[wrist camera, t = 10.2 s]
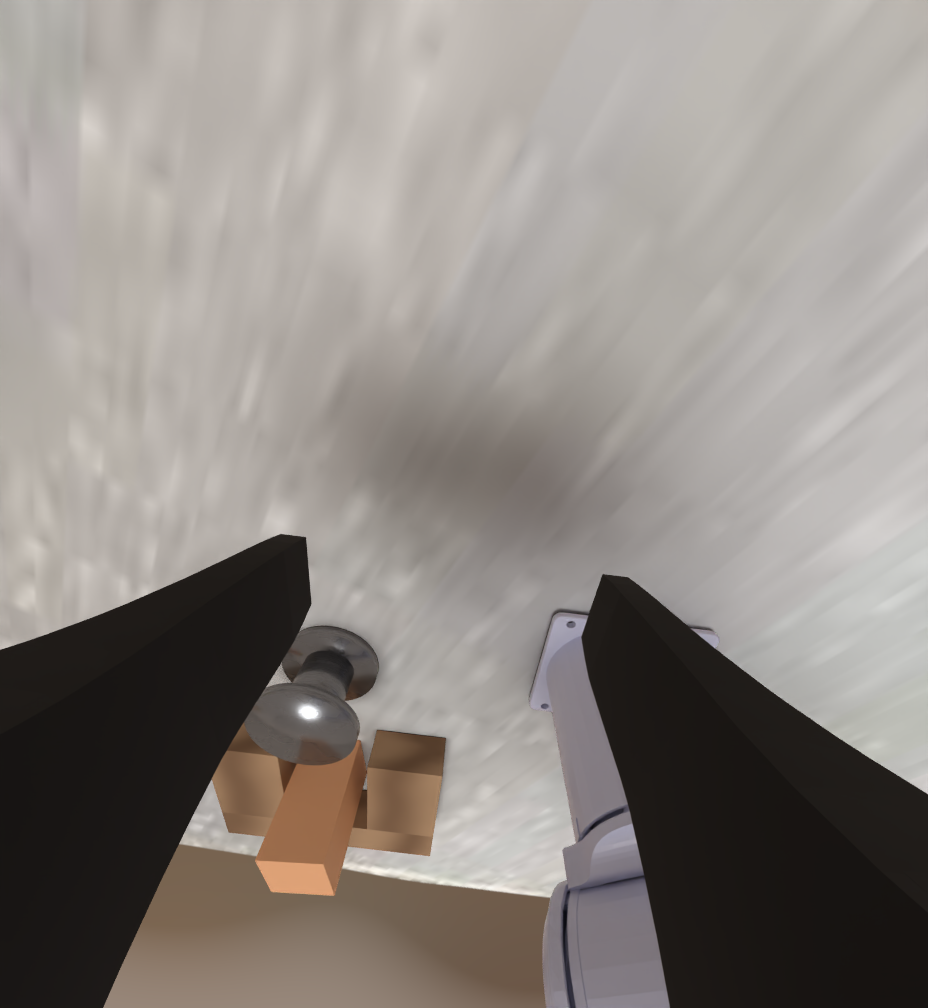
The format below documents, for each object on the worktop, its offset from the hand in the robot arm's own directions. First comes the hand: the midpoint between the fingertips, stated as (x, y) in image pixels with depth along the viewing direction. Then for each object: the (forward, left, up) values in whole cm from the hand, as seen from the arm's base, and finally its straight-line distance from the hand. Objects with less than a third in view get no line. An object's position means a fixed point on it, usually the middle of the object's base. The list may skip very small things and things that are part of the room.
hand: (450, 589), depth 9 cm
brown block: (+7, +25, -9) cm, 27 cm away
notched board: (+7, +27, -9) cm, 29 cm away
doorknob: (+7, +15, -9) cm, 19 cm away
